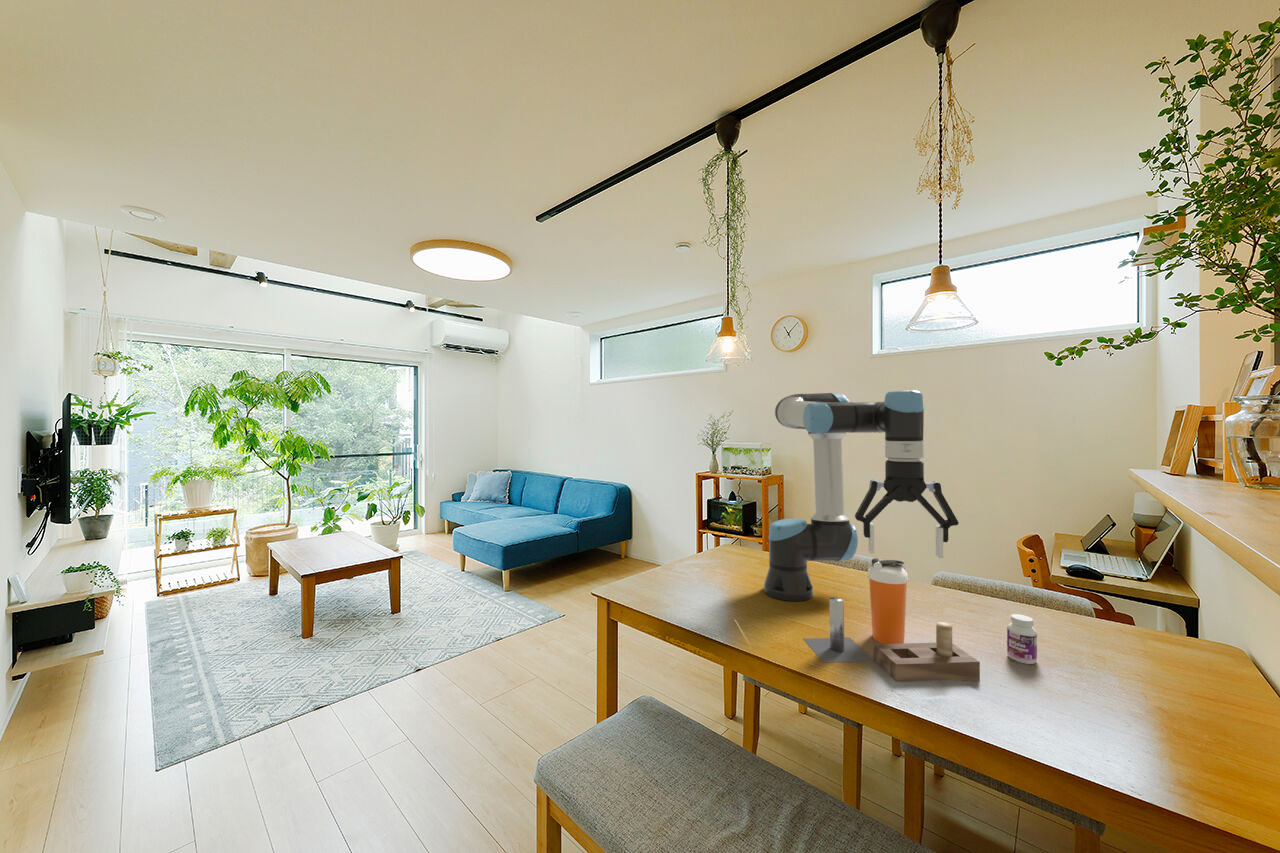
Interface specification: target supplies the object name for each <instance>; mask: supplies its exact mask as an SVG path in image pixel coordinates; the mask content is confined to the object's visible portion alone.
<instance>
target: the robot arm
mask: <svg viewBox="0 0 1280 853" xmlns="http://www.w3.org/2000/svg"><path fill="white" fill-rule="evenodd" d="M774 409H775V410H774V416H775V419H776V421H777V422H778V423H779V425H782V426H783V427H786V428H789V429H790V428H791V429H797V430H806V432H807V435H808V436H809V437H810V438H811V439H812V440H813V444H812V446H813V469H814V470H813V471H814V476H813V477H814V498H815V499H814V500H815V502H814V504H815V513H814V514H813V515H812V516H811V517H810V523H807V521H806V520H805V519H802V518H783V519H779V520H778V519H777V520H776V521H774V522H772V523H771V524H770V525H769V529H768V530H769V531H768V547H769V548H768V549H769V552H768V556H769V559H768V560H769V561H768V563H769V568H768V570H767V574H766V576H765V580H764V583H763V591H764V593H765V594H766V595H767V596H769V597H771V598H773V599H778V600H781V601H789V602H790V601H791V602H802V601H806V600H807V601H808V600H810V599H812V597H813V596H814V587H813V584H812V581H811V578H810V575H809V572H808V562H812V561H813V562H817V561H818V562H830V561H831V562H840V561H849V560H851V559H852V558H853V557H855V554H856V553H857V548H858V544H859V543H858V542H859V537H858V533H857V532H858V530H857V528H856V526H855V525H854V524H853V523H851V522H850V518H849V517H848V516H847V515H846V514H845V507H844V506H845V503H844V502H845V500H844V499H845V498H844V475H843V474H844V472H843V470H844V469H843V450H842V449H843V448H842V447H843V446H842V445H843V444H842V439H843V438H844V437H845V435H847V433H850V434H851V433H853V434H854V433H857V434H858V433H862V434H863V433H864V434H865V433H871V434H872V433H873V434H875V433H878V434H879V433H885V435H884V440H885V441H884V444H885V445H884V455H885V458H886V459H887V460H885V465H884V466H885V469H884V471H885V474H884V476H885V477H884V478H885V479H884V481H879V480H878V481H877V480H874V479H871V480H870V481H869V487H868V488H869V489H868V491H867V492H866V494H865V496H864V498H863V500H862V501H861V503H860V505H859V507H858V509H857V511H856V512H855V514H854V518H855V519H856V521H857V522H860V523H863V525H862V526H863V530H862V531H863V536H864V538H868V552H869V554H875V525H874V523H873V520H874V519H875V518H876V517H878V515H880V513H881V512H883V510H884V509H885V508H886V507H887V506H888V505H889V504H891V503H892V502H893V501H896V502H908V503H914V502H916V501H917V502H918V503H919V504H920V505H921V506H922V507H923V508H924V509H925V510H926V511H927V513H929V514H930V516H931V517H933V518H934V519H935V520H936V523H938V525H935V556H937V557H938V558H939V559H944V543H948V541H949V529H950V527H953V526H958V525H959V521H958V518H957V517H956V515H955V513H954V512H953V510H952V508H951V506H950V505H949V503H948V501H947V499H946V498H945V496H944V494H943V492H942V485H941V483H940V482H938V481H932V482H925V478H924V477H925V476H924V474H925V469H924V468H925V467H924V466H925V465H924V464H925V463H924V462H923V461H922V459H924V457H925V456H924V453H925V452H924V426H925V425H924V421H925V420H924V419H925V418H924V414H925V406H924V397H923V393H922V392H921V391H919V390H894V391H888V392H887V393H885V396H884V401H860V402H859V401H855V402H854V401H853V402H852V401H850V400H849V399H848V397H847V396H846V395H845V394H843V393H836V392H835V393H833V392H827V393H826V392H825V393H822V392H821V393H820V392H819V393H795V394H791V395H787V396H785V397H783V398H781V399H780V400H779V401H778V402H777V403H776V406H775V408H774ZM881 488H884V490H885V491H886V493H885V494H884V495H883V496H882V498H881V499H880V500H879V501H878V502H877V503H876V504H875V505H874V506H873V507H872V508H871V509H870V510H869V512H868V513H866V512H867V510H868V509H869V507H870V505H871V503H872V501H873V500H874V498H875V495H876V493H877V492H879V491H881ZM926 489H928V491H929V492H931V493H932V495H933V497H934V498H935V499H936V502H938V506H940V509H941V510H942V512H943V514H944V516H945V517H946V519H945V518H943V516H941V514H940V512H938V511H937V510H936V509H935V508H934V507H933V506H932V505H931V504H930V503H929V501H928V500H927V499H926V498H925V497H924V496H923V493H924V492H925V491H926Z"/></svg>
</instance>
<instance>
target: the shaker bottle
mask: <svg viewBox="0 0 1280 853" xmlns="http://www.w3.org/2000/svg"><path fill="white" fill-rule="evenodd" d="M903 565H905V562H904V561H902V560H896V559H882V560H880V559H879V558H875V557H874V558H872V559H871V565H870V567H869V568H868V569H867V572H868V573H867V578H868V580H869V581H868V584H869V598H870V614H871V615H870V616H871V632H872V638H873V639H874V640H875V641H876V642H878V643H879V644H902V643H905V636H906V635H905V632H906V630H905V629H906V614H907V613H906V610H907V608H906V606H907V588H908V587H907V585H908V582H909V580H908V578H909V574H908V573H907V571H906V570H905V569H904V568H903Z"/></svg>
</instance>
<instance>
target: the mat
mask: <svg viewBox="0 0 1280 853" xmlns="http://www.w3.org/2000/svg"><path fill="white" fill-rule="evenodd" d="M803 641H804V642H805V643H806V644H807V645H808V646H809V648H810V649H811V650H812V651H813V652H814V654H815V655H816V656H817V657H818V659H819V660H820V661H821V663H823V664H826V663H827V664H829V663H830V664H831V663H861V662H863V663H864V662H875V661H874V658H873V657H871V656H870V654H868V653H867V652H866V651H865V650H864V649H863V648H862V647H861V646H860V645H858V644H857V643H856V642H855V641H854V640H853V639H852V638H851V637H849V636H848V637H846V636H844V652H840V653H839V652H834V651H832V650H831V649H830V637H818V638H817V637H815V638H813V637H812V638H811V637H810V638H803Z"/></svg>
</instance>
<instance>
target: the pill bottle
mask: <svg viewBox="0 0 1280 853" xmlns="http://www.w3.org/2000/svg"><path fill="white" fill-rule="evenodd" d="M1034 625H1035V624H1034V618H1032V617H1029V616H1027V615H1023V614H1019V613H1018V614H1017V613H1013V614H1010V623H1008V624H1007V627H1006V628H1007V630H1006V635H1007V636H1006V653H1007V656H1008V657H1009V658H1010V659H1012V660H1013V661H1016V662H1017V663H1022V664H1026V665H1033V664H1036V663H1037V661H1038V654H1037V653H1038V632H1037V630H1036V628H1034V627H1033V626H1034Z"/></svg>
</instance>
